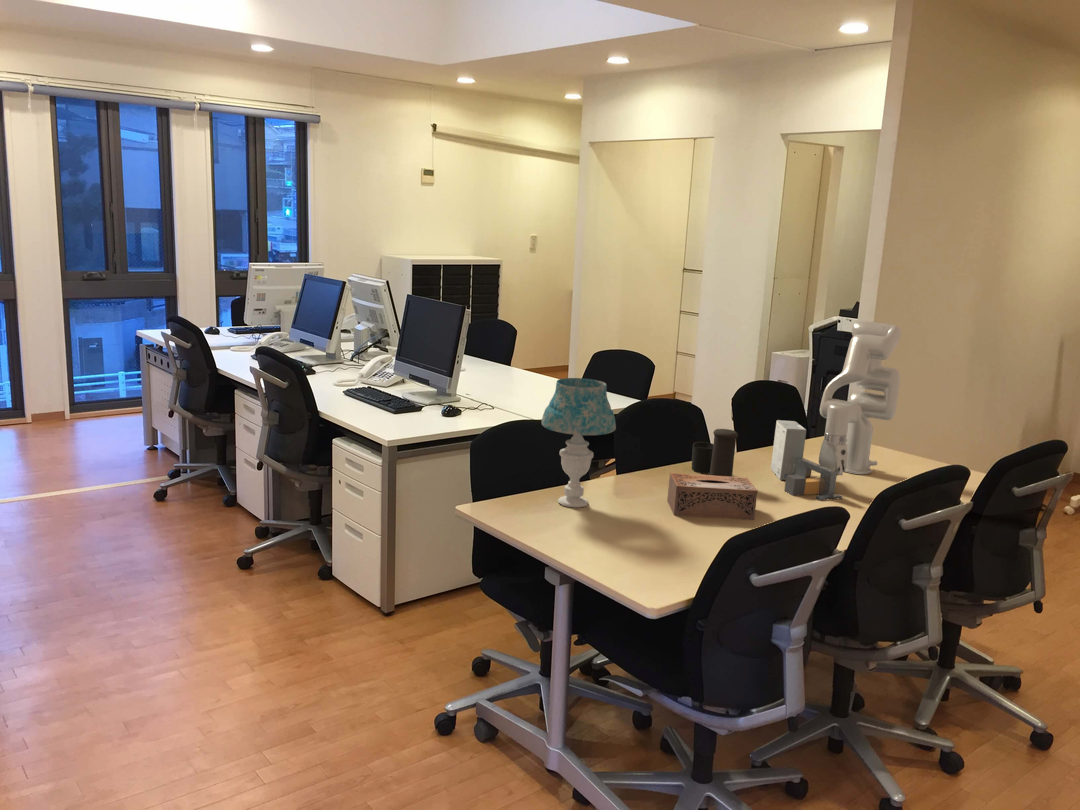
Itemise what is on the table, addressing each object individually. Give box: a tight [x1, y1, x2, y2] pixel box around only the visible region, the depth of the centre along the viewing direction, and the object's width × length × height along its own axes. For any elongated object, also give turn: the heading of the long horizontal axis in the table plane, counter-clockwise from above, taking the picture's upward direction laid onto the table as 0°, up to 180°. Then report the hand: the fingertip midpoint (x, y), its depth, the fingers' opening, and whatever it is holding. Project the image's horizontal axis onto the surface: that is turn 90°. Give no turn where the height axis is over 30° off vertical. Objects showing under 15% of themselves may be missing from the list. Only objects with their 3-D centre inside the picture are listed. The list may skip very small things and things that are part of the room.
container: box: [709, 428, 739, 477], centre depth 309 cm, size 9×9×20 cm
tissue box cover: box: [667, 472, 758, 521], centre depth 279 cm, size 26×14×10 cm, turn 90°
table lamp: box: [541, 377, 617, 509], centre depth 274 cm, size 24×24×40 cm
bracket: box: [796, 457, 843, 501], centre depth 307 cm, size 10×18×10 cm, turn 22°
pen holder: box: [691, 441, 714, 474], centre depth 325 cm, size 9×9×10 cm
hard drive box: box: [770, 419, 807, 481], centre depth 325 cm, size 16×8×20 cm, turn 179°
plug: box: [784, 475, 820, 496], centre depth 306 cm, size 16×5×6 cm, turn 113°
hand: (828, 487), depth 310 cm, fingers closed
